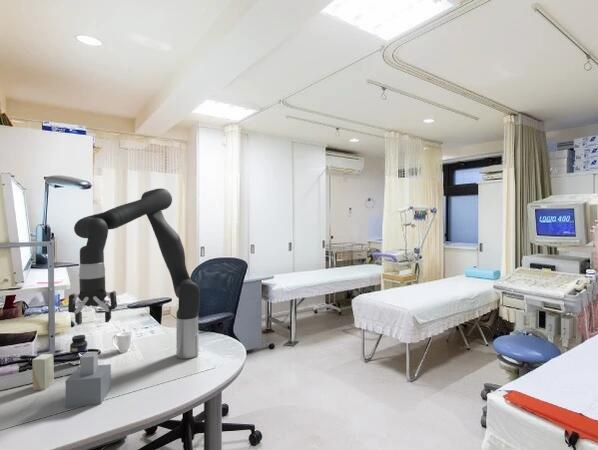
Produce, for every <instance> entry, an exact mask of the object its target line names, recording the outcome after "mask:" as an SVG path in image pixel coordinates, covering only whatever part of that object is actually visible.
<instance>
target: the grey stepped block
mask: <svg viewBox="0 0 598 450" xmlns="http://www.w3.org/2000/svg"><path fill="white" fill-rule="evenodd" d="M111 367H112V364H109V363H108V364H99V351H93V352H87V353H84V354H83V355H82V356H81V357H80V366H78V367H77V368H76V369H75V370H74V371H73V373H72V374H70V375H69V377H68V378H67V379H66V380H64V381H65V409H69V408H70V409H71V408H76V407H77V408H78V407H85V406H87V407H88V406H96V405H101V404H102V403H103V402H104V400H105V399H106V398H107V395H108V394H109V393H110V390H111V389H112V375H111V373H112V368H111Z"/></svg>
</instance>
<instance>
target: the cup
mask: <svg viewBox="0 0 598 450" xmlns="http://www.w3.org/2000/svg"><path fill="white" fill-rule="evenodd" d="M133 334H134V332H133V331H131V330H126V331H120V332H118V333H116V334H114V335H113V336H112V342H111V343H112V346H113V347H114V348H115V349H116V351H117V350H118V351H119V353H121V354H123V353H124V352H125V353H128V352H130V350H131V349H130V348H131V345H132V343H133V342H132V341H133ZM115 338H116V344H117V345H116V344H115Z"/></svg>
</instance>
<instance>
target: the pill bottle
mask: <svg viewBox="0 0 598 450" xmlns="http://www.w3.org/2000/svg"><path fill="white" fill-rule="evenodd" d="M71 339H72V340H71V341H72V342H71V343H70V344H69V345H70V346H69V353H70V352H77V351H86V350H87V352H82V353H80V354H81V355H83V354H84V353H88V341H87V340H86V335H85V334H78V335H77V334H76V335H74V336H72V338H71Z"/></svg>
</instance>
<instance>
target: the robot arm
mask: <svg viewBox="0 0 598 450" xmlns="http://www.w3.org/2000/svg"><path fill="white" fill-rule="evenodd" d="M172 203H173V196H172V194H171V192H169V191H168V189H165V188H161V187H160V188H153V189H151V190H148V191H145V192H143V193H142V195H141V197H140V199H138V200H135V201H131V202H128V203H124V204H121V205H117V206H116V207H114V208H110V209H108V210H106V211H103V212H100V213H96V214H92V215H88V216H85V217H82V218H80V219H78V220H77V222H75V224H74V227H73V231H74V233H75V235H76V236H78V237H80V238H82V239H87V241H86V245H83V246H82V247H81V248H80V249H79V270H78V272H79V273H78V277H79V279H78V280H79V281H78V282H79V293H74V292H73V293H71V294H69V295H68V308H67V311H68V313H73V314H74V319H75V320H74V322H75V324H77V326H79V325H82V323H83V312H82V310H83V309H84V308H85V306H87V307H92V306H94V307H95V306H96V307H97V306H100V308H102V309H103V310H104V311H105V312H104V323H109V322H110V320H111V319H112V311H113V310H115V309H116V308H117V307H118V304H117V303H118V301H117V292H116V290H113V291H108V292H107V291H106V290H107V289H106V268H105V253H104V250H105V246H106V243H107V239H108V235H109V234H108V233H109V230H115V229H118V228H120V227H122V226H124V225H126V224H128V223H131V222H133V221H134V220H135V221H136V220H137V219H138V218H141V217H143V216H146V217H147V220H148V221H149V224H150V225H151V227H152V230H153V234H154V237H155V238H156V241H157V244H158V248H159V250H160V253H161V256H162V258H163V260H164V264H165V265H166V268H167V269H168V272H169V274H170V278H171V281H172V286H173V291H174V295H175V296H176V298H177V299H178V308H177V311H176V313H175V314H176V318H175V319H176V321H175V322H176V323H175V324H176V337H175V338H176V350H175V351H176V358H177V359H181V360H183V359H185V360H187V359H191V358H195V357H198V356H199V350H200V347H199V343H200V341H199V340H200V339H199V338H200V337H199V334H200V333H199V312H200V306H201V304H200V303H201V290H200V287H199V285H198V284H197V283H195V282H194V281H193V280H192V279H191V277H190V274H189V272H188V269H187V266H186V255H185V253H186V252H185V249H184V246H183V243H182V240H181V238H180V236H179V234H178V232H177V231H176V230H175V229H174V228H173V227H171V225H170V224H169V223H168V222H167V220H166V219H165V216H164V214H163V211H164V210H167V209H168V208H170V206H171V205H172ZM106 297H108V299H110V304H109V303H108V301H107V300H106V299H105V298H106ZM78 299H79V300H80V303H79V304H78V306H77V308H76V301H77V300H78Z"/></svg>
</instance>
